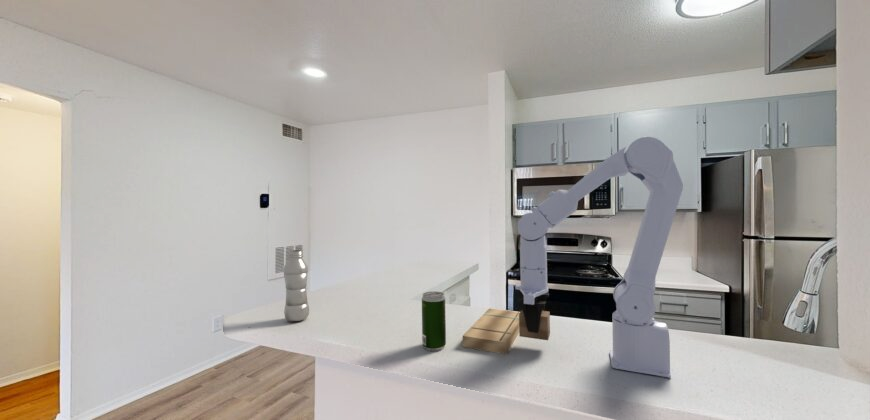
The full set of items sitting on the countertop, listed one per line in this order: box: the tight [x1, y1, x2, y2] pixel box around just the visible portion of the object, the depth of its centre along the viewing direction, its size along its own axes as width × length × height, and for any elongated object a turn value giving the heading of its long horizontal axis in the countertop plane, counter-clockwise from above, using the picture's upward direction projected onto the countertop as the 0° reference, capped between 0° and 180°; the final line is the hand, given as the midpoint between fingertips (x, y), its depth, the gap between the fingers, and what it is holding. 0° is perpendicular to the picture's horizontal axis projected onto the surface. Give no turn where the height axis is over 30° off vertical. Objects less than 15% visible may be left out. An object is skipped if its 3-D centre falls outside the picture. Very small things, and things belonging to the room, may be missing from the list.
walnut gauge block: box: [518, 309, 551, 341], centre depth 74 cm, size 6×4×5 cm, turn 65°
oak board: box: [462, 308, 521, 355], centre depth 83 cm, size 10×22×3 cm, turn 155°
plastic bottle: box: [282, 249, 310, 322], centre depth 95 cm, size 6×7×20 cm
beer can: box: [421, 291, 447, 352], centre depth 75 cm, size 5×5×12 cm
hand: (534, 328), depth 74 cm, fingers closed on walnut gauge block, 4 cm apart
